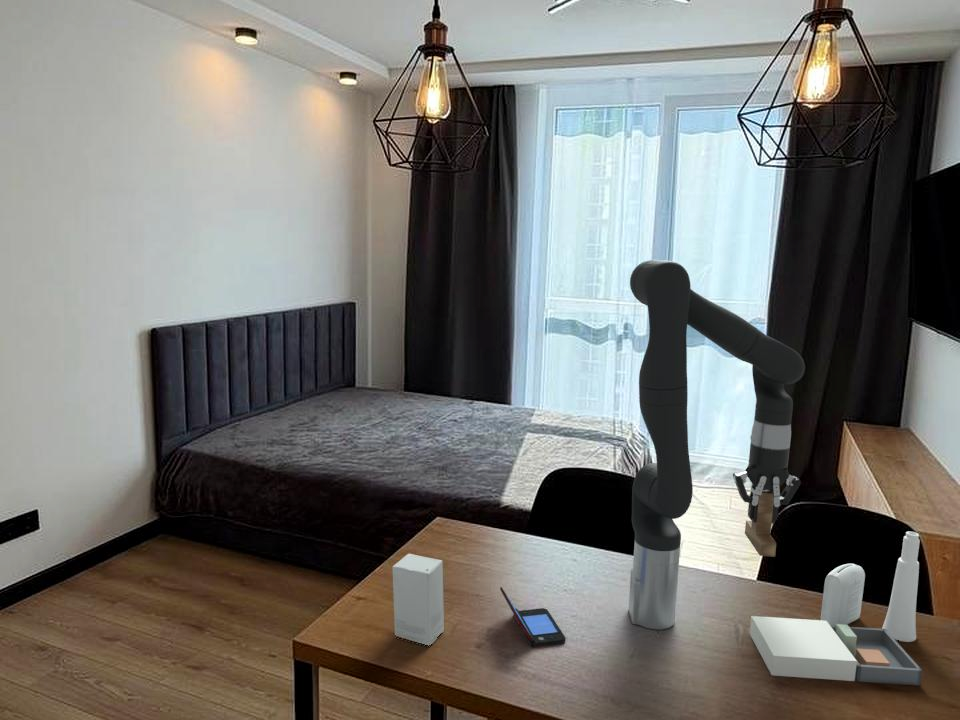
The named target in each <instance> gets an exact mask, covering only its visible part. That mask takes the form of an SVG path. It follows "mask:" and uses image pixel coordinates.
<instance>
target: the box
mask: <svg viewBox="0 0 960 720" xmlns="http://www.w3.org/2000/svg"><path fill="white" fill-rule="evenodd" d="M849 627H850V629H851V630H852V631H853V632H854V634H855V635H856V636H857V640H856V648H855V653H856V649H871V650H879V651H880V652H881V653H882V654H883V655H884V657H885V658H886V659H887V660H888V661H889V663H890V667H888V666H874V665H860V664H859V663H858V661H857V660H856V661H857V665H856V673H855V681H856V682H861V683H875V684H888V685H889V684H890V685H891V684H892V685H906V686H921V684H922V678H923V677H922V676H923V670H922V669H921V667H920V666H919V665H918V664H917V663H916V662H915V660H914V659H913V658H912V657H911V656H910V655H909V654H908V653H907V651H906V650H905V649H904V648H903V647H902V646H901V644H899V643H898V641H897V640H895V639H894V638H893V637H892V636H891V635H890V634H889V633H888V632H887V630H886V629H882V628H876V627H875V628H874V627H873V628H872V627H858V626H857V627H856V626H849ZM831 628H832V629H833V630H834V632H835V633H836V626H831ZM838 637H839V636H838ZM841 641H842V640H841ZM844 645H845V644H844ZM845 646H846V645H845ZM847 649H848V648H847ZM848 650H849V649H848ZM850 653H851V652H850ZM851 654H852V653H851ZM853 657H854V658H855V656H853Z"/></svg>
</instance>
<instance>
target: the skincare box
mask: <svg viewBox="0 0 960 720" xmlns="http://www.w3.org/2000/svg"><path fill="white" fill-rule="evenodd" d="M443 572H444V571H443V560H441V559H437V558H432V557H428V556H427V557H426V556H423V555H422V556H421V555H417V554H413V553H407V554H406V555H404V556H403V557H402V558H401V559H400V560H398V561H397V562H396V563H395V564H393V566H392V590H393V593H392V594H393V615H394V616H393V618H394V619H393V620H394V622H393V623H394V636H395V635H396V636H399V637H402V638H406V639H409V640H412V641H415V642H418V643H422V644H425V645H428V646H429V645H431V644H434V643H435V641H437V639H438V638H439V637H440V636H441V635H442V634H443V632H444V631H445V625H444V624H445V622H444V621H445V620H444V619H445V618H444V617H445V615H444V614H445V613H444V577H443V576H444V573H443ZM441 633H442V634H441ZM440 634H441V635H440ZM439 635H440V636H439ZM438 636H439V637H438ZM437 637H438V638H437ZM418 643H417V644H418ZM425 645H424V646H425ZM428 646H427V647H428ZM429 647H430V646H429Z"/></svg>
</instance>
